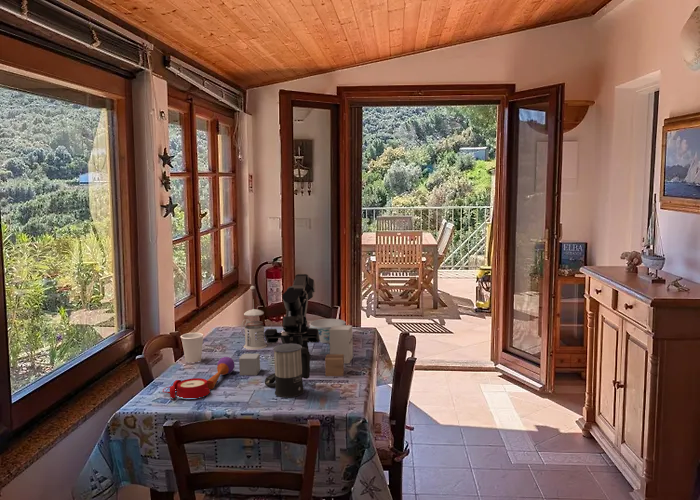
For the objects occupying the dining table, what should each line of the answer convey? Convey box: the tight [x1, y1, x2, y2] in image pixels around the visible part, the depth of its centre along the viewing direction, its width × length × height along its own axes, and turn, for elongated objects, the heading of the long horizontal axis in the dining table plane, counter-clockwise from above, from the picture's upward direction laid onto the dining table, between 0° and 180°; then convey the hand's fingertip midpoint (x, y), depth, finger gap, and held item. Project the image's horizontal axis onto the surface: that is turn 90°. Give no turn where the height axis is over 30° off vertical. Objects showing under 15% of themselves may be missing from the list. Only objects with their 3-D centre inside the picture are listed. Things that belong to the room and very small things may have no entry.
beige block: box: [238, 353, 261, 376], centre depth 215 cm, size 6×6×6 cm
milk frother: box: [264, 344, 311, 398], centre depth 196 cm, size 14×16×15 cm
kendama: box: [206, 356, 236, 390], centre depth 208 cm, size 6×6×20 cm
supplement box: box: [329, 324, 354, 364], centre depth 226 cm, size 7×7×13 cm
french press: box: [240, 285, 268, 351], centre depth 248 cm, size 10×12×25 cm
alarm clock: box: [162, 377, 214, 399], centre depth 194 cm, size 10×6×15 cm
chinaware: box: [309, 318, 346, 344], centre depth 255 cm, size 15×15×8 cm
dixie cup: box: [180, 332, 204, 363], centre depth 230 cm, size 8×8×10 cm
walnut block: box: [324, 353, 345, 377], centre depth 211 cm, size 6×6×6 cm
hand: (290, 357), depth 210 cm, fingers closed
